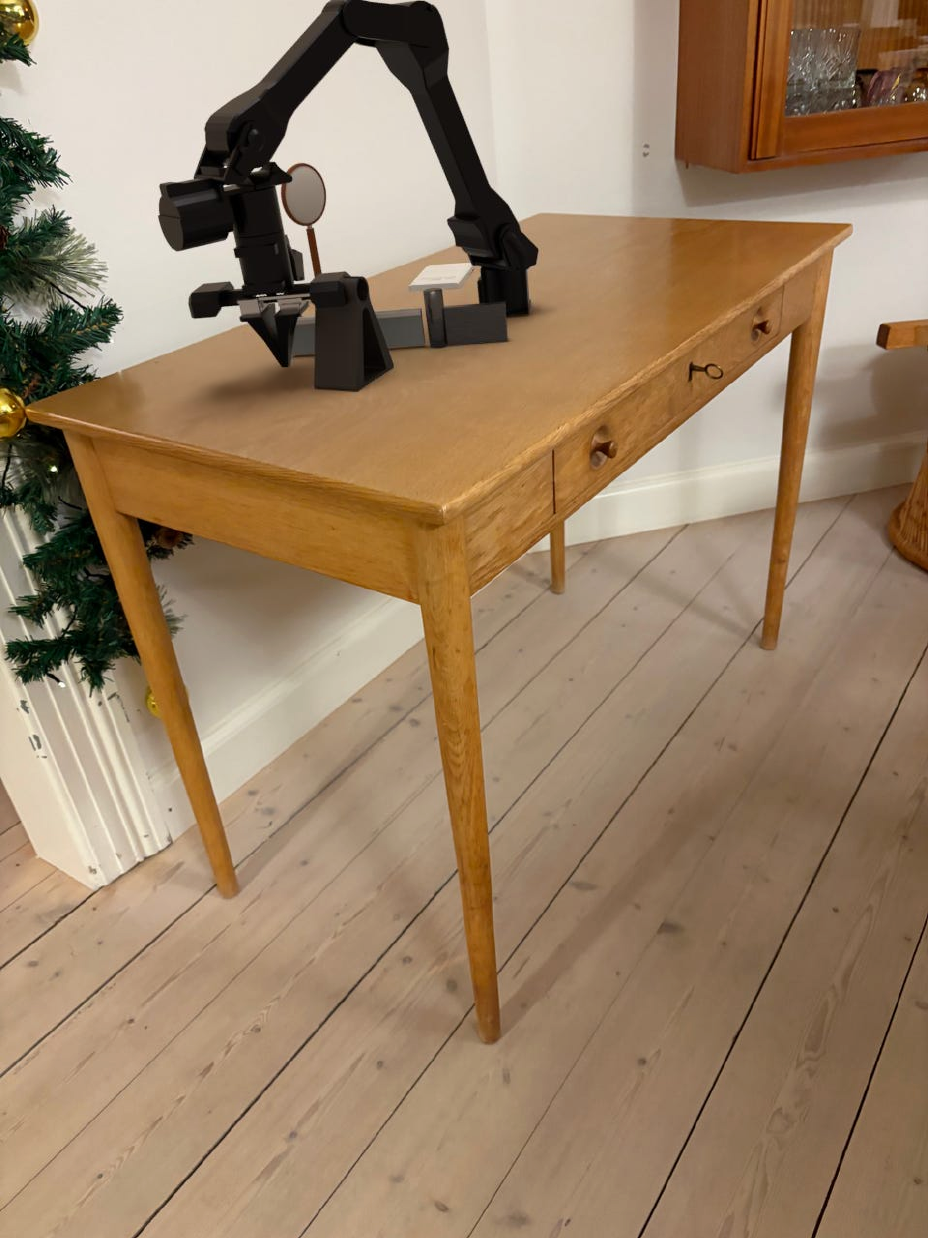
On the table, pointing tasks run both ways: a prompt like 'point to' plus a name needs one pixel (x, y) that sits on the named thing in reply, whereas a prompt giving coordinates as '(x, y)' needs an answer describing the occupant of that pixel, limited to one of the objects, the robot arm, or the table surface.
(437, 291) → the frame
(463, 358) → the table surface
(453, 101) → the robot arm
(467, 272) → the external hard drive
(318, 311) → the phone stand
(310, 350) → the grey flat bar
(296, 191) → the magnifying glass
